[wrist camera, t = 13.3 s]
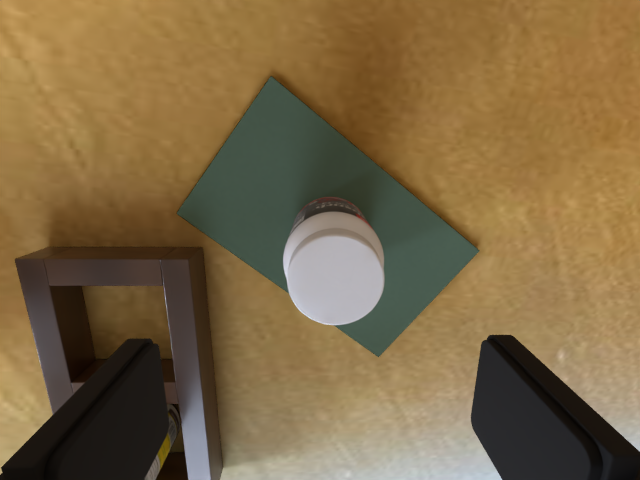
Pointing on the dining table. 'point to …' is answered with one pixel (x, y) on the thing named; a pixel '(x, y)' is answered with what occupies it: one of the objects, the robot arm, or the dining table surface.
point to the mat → (313, 183)
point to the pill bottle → (333, 262)
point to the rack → (80, 364)
